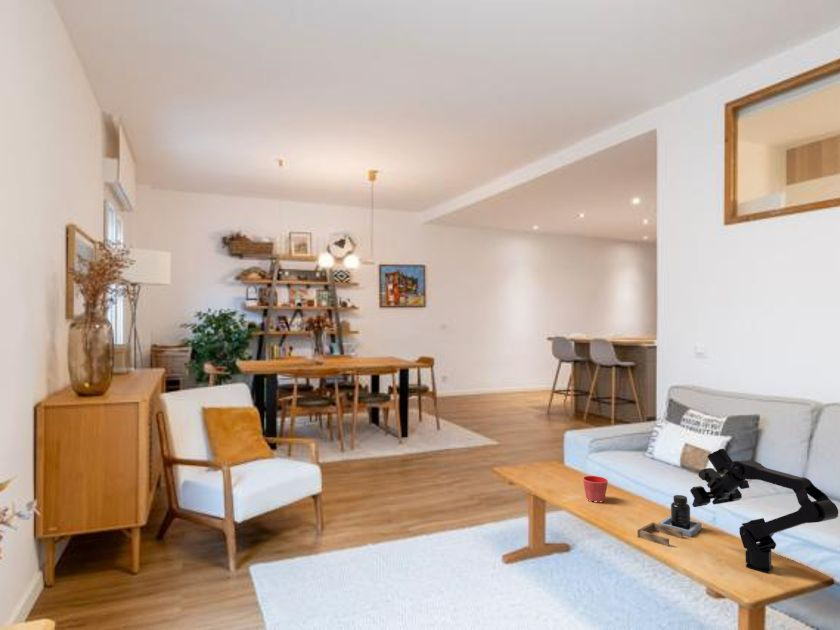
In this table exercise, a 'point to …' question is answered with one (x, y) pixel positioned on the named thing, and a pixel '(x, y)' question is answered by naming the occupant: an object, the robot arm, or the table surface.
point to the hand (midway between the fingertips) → (703, 504)
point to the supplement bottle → (680, 512)
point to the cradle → (661, 528)
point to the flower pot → (595, 488)
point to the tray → (689, 533)
